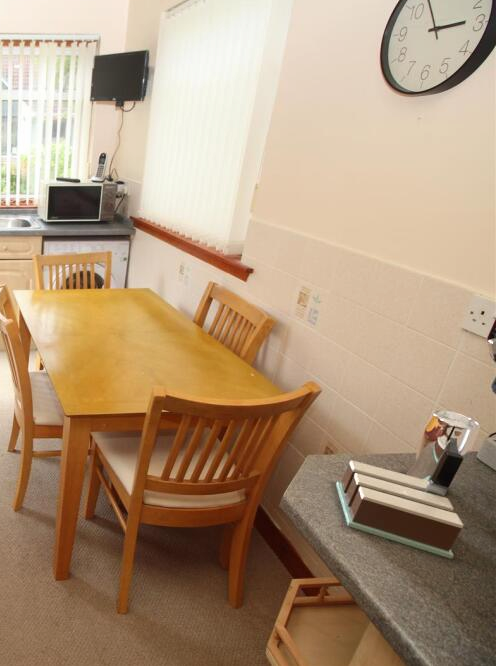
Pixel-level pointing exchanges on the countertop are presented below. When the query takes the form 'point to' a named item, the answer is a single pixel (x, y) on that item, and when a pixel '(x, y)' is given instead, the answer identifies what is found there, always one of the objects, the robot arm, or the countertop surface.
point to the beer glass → (442, 441)
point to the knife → (444, 473)
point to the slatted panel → (398, 508)
